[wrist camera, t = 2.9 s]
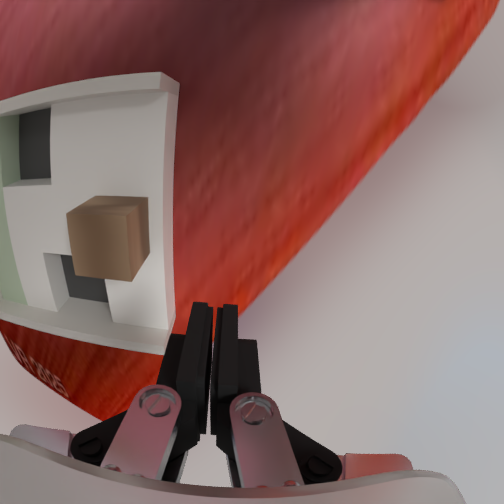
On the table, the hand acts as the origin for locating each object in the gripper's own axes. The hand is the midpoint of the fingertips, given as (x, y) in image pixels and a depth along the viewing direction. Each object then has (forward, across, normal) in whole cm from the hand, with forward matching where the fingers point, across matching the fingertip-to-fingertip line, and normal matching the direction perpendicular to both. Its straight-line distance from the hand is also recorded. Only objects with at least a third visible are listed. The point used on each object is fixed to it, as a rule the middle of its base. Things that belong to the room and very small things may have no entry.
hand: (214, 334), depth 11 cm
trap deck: (+12, +14, -1) cm, 19 cm away
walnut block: (+9, +7, -1) cm, 12 cm away
